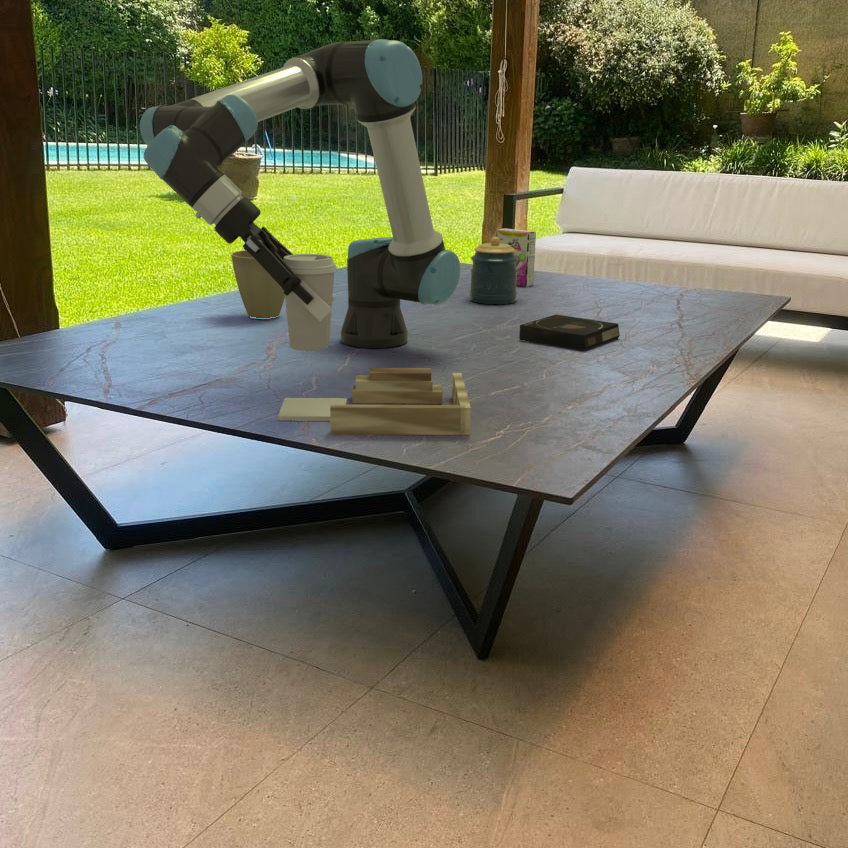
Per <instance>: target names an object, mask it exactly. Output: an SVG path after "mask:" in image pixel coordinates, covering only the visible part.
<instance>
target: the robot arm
mask: <svg viewBox="0 0 848 848" xmlns="http://www.w3.org/2000/svg"><path fill="white" fill-rule="evenodd" d="M420 64H421V63H420V61H419V59H418V56H417V55H416V54H415V52H414V51H413V50H412V48H410V47H409V46H408V45H406V44H405V43H404V42H402V41H400V40H394V39H393V40H392V39H391V40H389V39H385V38H384V39H383V38H379V39H369V40H355V41H354V40H353V41H338V42H333V43H329V44H326V45H324V46H323V45H322V46H320V47H318V48H316V49H313V50H310V51H308V52H305V53H303V54H300V55H298V56H294V57H291V58H289V59H288V60H286V62H284V64H283V66H282V67H280V68H277V69H274V70H271V71H269V72H266V73H263V74H260V75H256V76H254V77H250V78H247V79H246V80H242V81H239V82H236V83H234V84H230V85H228V86H227V85H226V86H224V87H222V88H219V89H215V90H213V91H209V92H208V93H204V94H202V95H199V96H196V97H193V98H190V99H187V100H183V101H180V102H178V103H175V104H172V105H164V104H161V105H158V106H152V107H149V108H148V109H146V110H145V111H144V112H143V114H142V116H141V118H140V121H139V132H140V135H141V139H142V140H143V141H144V143H145V144H146V145H147V146H146V148H145V150H144V152H143V159H144V161H145V163H146V164H147V165H148V166H149V168H150V169H151V170H152V171H153V172H154V173H155V175H157V177H158V178H159V179H160V180H162V181H163V182H164V183H165V184H166V185H168V187H170V188H171V190H172V191H173V192H175V194H177V195H178V197H180V198H181V199H182V200H183V201H184V202H185V203H186V204H187V205H188V206H189V207H190V208H192V210H193V211H195V214H194V215H195V218H196V219H201V218H202V219H203V221H204V222H206V224H208V225H209V226H213V224H214V225H215V226H214V227H213V229H214V231H215V233H216V234H218V235H219V237H221V238H222V239H223V240H224V241H225V242H226V243H227V244H229V245H230V244H233V243H234V242H235V241H236V240H237V239H238V238H241V240H242V242H244V244H243V245H242V247H243V250H246V251H248V252H249V253H250V254H251V255H252V256H253V257H254V258H255V259H256V260H257V261H258V263H259V264H260V265H261V266H262V267H263V268H264V269H265V270H266V271H267V272H268V273H269V274H270V275H271V277H272V278H273V279H274V280H275V281H276V282H277V283H278V284H279V285H280V286H281V287H282V289H283V290H284V292H283V293H284V294H285V295H286V296H288V295H289V294H290V293H291V294H292V295H293V296H294V297H295V298H296V299H297V300H298V301H299V302H301V303H302V304H303V305H304V306H305V307H306V308H307V309H308V310H309V311H310V312H311V313H312V314H313V315H314V316H315V317H316V318H317V319H318V320H319V321H321V320H322V319H323V318H324V317H325V316H326V315H327V314H328V313H329V312H330V311H331V310H332V309H331V308H330V307H329V306H328V305H327V304H326V303H325V302H324V301H323V300H322V299H321V298H320V297H319V296H318V295H317V294H316V293H315V292H314V291H313V290H312V289H311V288H310V287H309V286H308V285H307V284H306V283H305V282H304V281H302V282H301V281H300V279H299V278H298V277H297V276H296V275H295V274H294V272H293V271H292V270H291V269H290V268H289V266H288V265H287V264H286V263H285V262H284V261H283V258H284V257H285V256H288V255H294V253H293V252H291V251H290V250H289V249H288V248H287V247H286V246H285V245H284V244H282V243H281V242H280V241H279V240H278V239H277V238H276V237H275V236H273V233H271V232H270V231H269V230H268V229H267V227H265V226H262V227H259V226H258V225H257V224H255V223H254V222H255V221H256V220H257V219H258V218H259V217H260V215H261V209H260V208H259V207H257V205H255V203H254V202H252V201H251V199H249V197H245V196H242V193H243V191H242V190H241V189H240V188H239V187H238V186H237V185H236V184H235V183H234V182H233V181H232V180H231V179H230V178H229V177H228V176H227V175H226V174H225V173H223V172H222V171H221V170H220V169H219V168H220V166H222V164H223V163H224V162H226V161H227V160H228V159H229V158H230V157H232V155H234V154H235V153H236V152H237V151H238V150H240V148H242V147H243V146H244V145H246V144H247V142H248V141H249V139H250V138H251V137H252V136H253V135H254V134H256V132H257V130H258V125H259V124H258V123H259V122H262V121H264V120H267V119H269V118H272V117H276V116H278V115H281V114H283V113H285V112H289V111H290V110H293V109H296V108H299V109H302V110H310V109H311V108H313V107H314V108H315V107H319V106H328V105H329V106H333V105H336V106H337V105H341V106H353V108H354V113H355V117H356V120H357V122H358V123H360V124H361V125H362V126H364V127H366V129H367V133H368V137H369V141H370V147H371V149H372V154H373V159H374V162H375V166H376V171H377V174H378V179H379V183H380V189H381V192H382V196H383V200H384V204H385V209H386V213H387V217H388V222H389V225H390V226H389V227H390V229H391V234H392V236H386V237H385V236H383V237H374V238H373V237H372V238H366V239H357V240H352V241H351V242H350V243H349V245H348V246H347V258H346V263H347V264H346V265H347V268H346V269H347V297H348V298H347V301H348V303H347V310H346V314H345V316H344V320H343V322H342V327H341V329H340V342H341V343H342V344H344V345H346V346H350V347H354V346H355V348H356V347H357V348H362V349H363V348H365V349H366V348H367V349H384V348H393V347H399V346H402V345H406V344H407V343H408V342H409V339H408V337H409V335H408V334H409V332H408V328H407V325H406V322H405V318H404V315H403V312H402V309H401V300H402V301H407V302H412V303H413V302H414V303H419V304H422V305H434V306H435V305H437V306H439V305H441V304H443V303H445V302H447V301H448V300H449V299H450V298H451V297H452V296H453V294H454V293H455V291H456V289H457V286H458V285H459V282H460V276H461V263H460V258H459V256H458V255H457V254H456V253H455V252H454V251H452V250H450V249H446V247H445V242H444V237H443V235H442V233H440V232H438V231H437V230H435V229H434V226H433V221H432V215H431V211H430V207H429V202H428V196H427V192H426V188H425V182H424V178H423V174H422V169H421V164H420V159H419V155H418V149H417V145H416V140H415V136H414V129H413V127H412V122H411V116H412V115H413V113H414V111H415V110H416V107H417V106H416V101H417V99H418V98H419V96H420V94H421V91H422V88H421V85H422V84H423V72H422V67H421V65H420ZM335 299H336V297H335V296H334V295H333V297H332V302H334V301H335ZM331 312H332V311H331Z"/></svg>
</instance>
